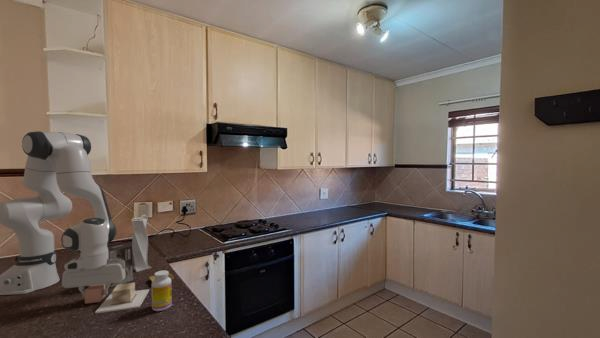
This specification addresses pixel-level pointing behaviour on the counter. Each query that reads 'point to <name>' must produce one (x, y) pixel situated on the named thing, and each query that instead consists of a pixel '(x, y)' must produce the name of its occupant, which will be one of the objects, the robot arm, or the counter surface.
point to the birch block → (123, 293)
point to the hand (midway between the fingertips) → (95, 295)
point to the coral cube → (94, 293)
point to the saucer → (168, 276)
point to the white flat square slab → (134, 303)
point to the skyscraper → (140, 244)
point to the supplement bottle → (161, 291)
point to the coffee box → (126, 255)
